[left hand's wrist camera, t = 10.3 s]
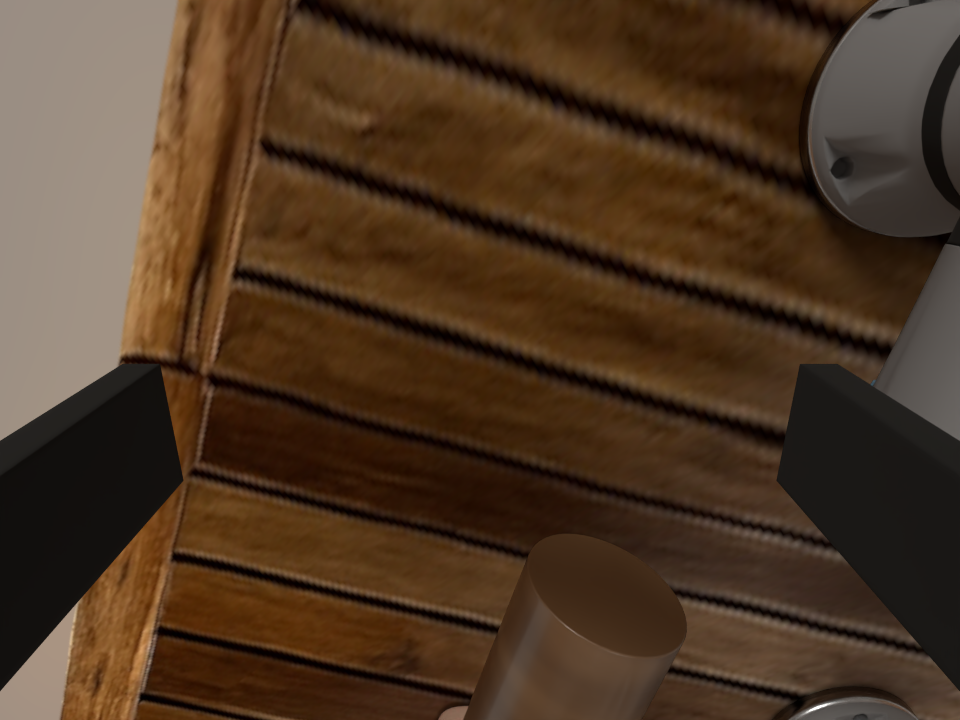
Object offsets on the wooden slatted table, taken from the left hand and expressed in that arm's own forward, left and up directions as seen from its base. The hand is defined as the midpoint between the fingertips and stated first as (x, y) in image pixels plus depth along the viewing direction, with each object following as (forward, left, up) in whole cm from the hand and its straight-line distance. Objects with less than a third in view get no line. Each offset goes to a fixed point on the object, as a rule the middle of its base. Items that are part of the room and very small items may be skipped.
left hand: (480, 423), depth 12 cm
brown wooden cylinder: (-10, +24, -16) cm, 30 cm away
